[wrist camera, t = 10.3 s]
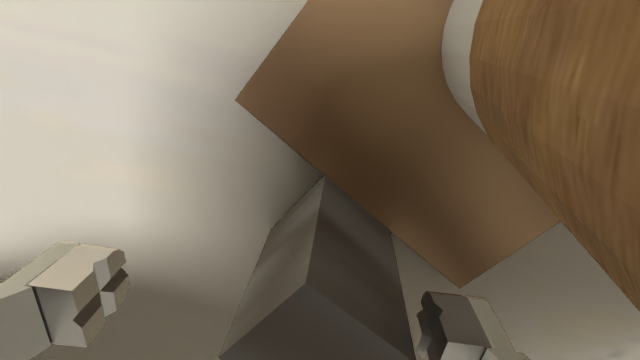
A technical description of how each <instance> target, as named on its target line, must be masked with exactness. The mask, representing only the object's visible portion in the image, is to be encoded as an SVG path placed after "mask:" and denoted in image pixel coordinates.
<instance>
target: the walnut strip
mask: <svg viewBox="0 0 640 360" xmlns="http://www.w3.org/2000/svg"><path fill="white" fill-rule="evenodd" d="M453 1H454V0H308V2H307V3H306V4H305V6H304V7H303V9H302V10H301V11H300V13H299V14H298V15H297V17H296V18H295V19H294V21H293V22H292V23H291V25H290V26H289V27H288V29H287V30H286V32H285V33H284V34H283V36H282V37H281V38H280V40H279V41H278V42H277V44H276V45H275V46H274V48H273V49H272V50H271V52H270V53H269V55H268V56H267V57H266V59H265V60H264V61H263V63H262V64H261V65H260V67H259V68H258V69H257V71H256V72H255V73H254V75H253V76H252V78H251V79H250V80H249V82H248V83H247V84H246V86H245V87H244V88H243V90H242V91H241V92H240V94H239V95H238V96H237V98H236V99H235V101H237V102H238V103H239V104H240V105H241V106H243V107H244V108H245V109H246V110H247V111H248V112H250V113H251V114H252V115H253V116H254V117H256V118H257V119H258V120H259V121H260V122H262V123H263V124H264V125H265V126H266V127H268V128H269V129H270V130H271V131H272V132H274V133H275V134H276V135H277V136H278V137H279V138H281V139H282V140H283V141H284V142H285V143H287V144H288V145H289V146H290V147H291V148H293V149H294V150H295V151H296V152H297V153H299V154H300V155H301V156H302V157H303V158H305V159H306V160H307V161H308V162H309V163H310V164H312V165H313V166H314V167H315V168H316V169H318V170H319V171H320V172H321V173H322V174H324V176H323V177H322V178H321V179H320V180H319V181H318V182H317V183H316V184H315V185H314V186H313V187H312V188H311V189H310V190H309V191H308V192H307V193H306V194H305V195H304V196H303V197H302V198H301V199H300V200H299V201H298V202H297V203H296V204H295V205H294V206H293V207H292V208H291V209H290V210H289V211H288V212H287V213H286V214H285V215H284V216H283V217H282V218H281V219H280V220H279V221H278V222H277V223H276V224H275V225H274V226H273V227H272V228H271V230H270V233H269V235H268V238H267V240H266V243H265V245H264V248H263V250H262V252H261V255H260V257H259V260H258V262H257V265H256V267H255V270H254V272H253V274H252V277H251V279H250V282H249V284H248V287H247V289H246V291H245V294H244V296H243V299H242V301H241V304H240V306H239V309H238V311H237V313H236V316H235V318H234V321H233V323H232V326H231V328H230V331H229V333H228V335H227V338H226V340H225V343H224V345H223V348H222V350H221V353H220V355H219V357H218V358H220V359H222V360H416V358H415V353H414V348H413V343H412V338H411V333H410V328H409V323H408V318H407V313H406V308H405V303H404V298H403V293H402V288H401V283H400V278H399V273H398V268H397V263H396V258H395V253H394V248H393V243H392V238H391V233H390V231H392V232H393V233H394V234H395V235H396V236H397V237H399V238H400V239H401V240H402V241H403V242H405V243H406V244H407V245H408V246H409V247H411V248H412V249H413V250H414V251H415V252H417V253H418V254H419V255H420V256H421V257H423V258H424V259H425V260H426V261H427V262H428V263H430V264H431V265H432V266H433V267H434V268H436V269H437V270H438V271H439V272H440V273H442V274H443V275H444V276H445V277H446V278H448V279H449V280H450V281H451V282H452V283H453V284H455V285H456V286H457V287H458V288H461V287H463V286H464V285H466V284H467V283H469V282H470V281H472V280H473V279H475V278H476V277H478V276H479V275H481V274H482V273H484V272H485V271H487V270H488V269H490V268H491V267H493V266H494V265H496V264H497V263H499V262H500V261H502V260H503V259H505V258H506V257H508V256H509V255H511V254H512V253H514V252H515V251H517V250H518V249H520V248H521V247H523V246H524V245H526V244H527V243H529V242H530V241H532V240H533V239H535V238H536V237H538V236H539V235H541V234H542V233H544V232H545V231H547V230H548V229H550V228H551V227H553V226H554V225H556V224H557V223H559V222H560V221H561V220H560V219H559V218H558V217H557V216H556V214H555V213H554V212H553V211H552V210H551V209H550V207H549V206H548V205H547V204H546V203H545V202H544V201H543V199H542V198H541V197H540V196H539V195H538V194H537V193H536V191H535V190H534V189H533V188H532V187H531V186H530V184H529V183H528V182H527V181H526V180H525V179H524V178H523V176H522V175H521V174H520V173H519V172H518V171H517V170H516V168H515V167H514V166H513V165H512V164H511V163H510V161H509V160H508V159H507V158H506V157H505V156H504V155H503V153H502V152H501V151H500V150H499V149H498V148H497V146H496V145H495V144H494V143H493V142H492V140H491V139H490V138H489V137H488V135H487V134H486V133H485V132H484V131H483V130H482V129H481V128H480V127H479V126H478V125H477V124H476V123H475V122H474V121H473V120H472V119H471V118H470V117H469V116H468V115H467V114H466V112H465V111H464V110H463V109H462V108H461V107H460V105H459V104H458V103H457V102H456V101H455V99H454V97H453V95H452V93H451V91H450V89H449V87H448V85H447V82H446V79H445V75H444V71H443V68H442V53H441V46H442V39H443V31H444V26H445V23H446V20H447V17H448V13H449V10H450V7H451V5H452V3H453Z"/></svg>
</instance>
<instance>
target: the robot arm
mask: <svg viewBox="0 0 640 360" xmlns="http://www.w3.org/2000/svg"><path fill="white" fill-rule="evenodd" d="M125 263H126V259H125V254H124V252H123V251H121V250H119V249H114V248H107V247H101V246H95V245H89V244H80V243H74V242H67V241H63V242H59V243H56V244H55V245H54V246H52V247H51V248H49V249H48V250H47V251H45V252H44V253H43V254H41V255H40V256H39V257H37V258H36V259H34V260H33V261H32V262H30V263H29V264H28V265H26V266H25V267H24V268H22V269H21V270H19V271H18V272H17V273H15V274H14V275H13V276H11V277H10V278H9V279H7V280H6V281H4V282H3V283H0V360H30V359H31V358H33V357H35V356H36V355H38V354H39V353H41V352H42V351H44V350H46V349H47V348H49V347H50V346H51V344H55V345H65V346H75V347H84V348H87V347H88V346H89V345H90V343H91V342H92V341H93V340H94V338H95V337H96V336H97V335H98V333H99V332H100V331H101V330H102V329H103V327H104V326H105V317H106V316H108V315H110V314H112V313H114V312H115V311H117V310H118V309H119V307H120V306H121V305H122V303H123V302H124V300H125V297H126V295H127V293H128V289H129V277H128V274H127V273H126V272H125V271H124V270H123V269H122V266H123V265H124V264H125ZM421 304H422V307H423V310H422V311H420V312H419V313H417V314H416V318H415V321H414V328H413V338H414V345H415V349H416V352H417V353H418V354H419V355H420V356H421V357H422V358H423V360H530V359H529V358H528V357H527V356H525V355H524V354H523V353H519V352H516V351H515V349H514V347H513V346H512V344H511V342H510V340H509V339H508V337H507V335H506V333H505V331H504V330H503V328H502V326H501V324H500V323H499V321H498V319H497V317H496V315H495V314H494V312H493V310H492V308H491V307H490V305H489V303H488V301H487V300H486V299H484V298H483V297H474V296H465V295H464V296H462V295H455V294H447V293H439V292H431V291H426V292H425V293H424V295H423V297H422V300H421Z"/></svg>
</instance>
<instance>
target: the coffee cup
mask: <svg viewBox="0 0 640 360" xmlns="http://www.w3.org/2000/svg"><path fill="white" fill-rule="evenodd" d="M441 53H442V68H443V71H444V75H445V79H446V82H447V85H448V87H449V89H450V91H451V93H452V95H453V97H454V99H455V101H456V102H457V103H458V104H459V105H460V107H461V108H462V109H463V110H464V111H465V112H466V114H467V115H468V116H469V117H470V118H471V119H472V120H473V121H474V122H475V123H476V124H477V125H478V126H479V127H480V128H481V129H482V130H483V131H484V132H485V133H486V134H487V135H488V137H489V138H490V139H491V140H492V142H493V143H494V144H495V145H496V146H497V148H498V149H499V150H500V151H501V152H502V153H503V155H504V156H505V157H506V158H507V159H508V160H509V161H510V163H511V164H512V165H513V166H514V167H515V168H516V170H517V171H518V172H519V173H520V174H521V175H522V176H523V178H524V179H525V180H526V181H527V182H528V183H529V184H530V186H531V187H532V188H533V189H534V190H535V191H536V193H537V194H538V195H539V196H540V197H541V198H542V199H543V201H544V202H545V203H546V204H547V205H548V206H549V207H550V209H551V210H552V211H553V212H554V213H555V214H556V216H557V217H558V218H559V219H560V220H561V221H562V222H563V224H564V225H565V226H566V227H567V228H568V229H569V230H570V232H571V233H572V234H573V235H574V236H575V237H576V239H577V240H578V241H579V242H580V243H581V244H582V245H583V247H584V248H585V249H586V250H587V251H588V252H589V253H590V255H591V256H592V257H593V258H594V259H595V260H596V262H597V263H598V264H599V265H600V266H601V267H602V268H603V270H604V271H605V272H606V273H607V274H608V275H609V276H610V278H611V279H612V280H613V281H614V282H615V283H616V285H617V286H618V287H619V288H620V289H621V290H622V291H623V293H624V294H625V295H626V296H627V297H628V298H629V299H630V301H631V302H632V303H633V304H634V305H635V306H636V308H637V309H638V310H639V311H640V0H454V1H453V3H452V5H451V7H450V10H449V13H448V17H447V20H446V23H445V26H444V31H443V39H442V46H441Z"/></svg>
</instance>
